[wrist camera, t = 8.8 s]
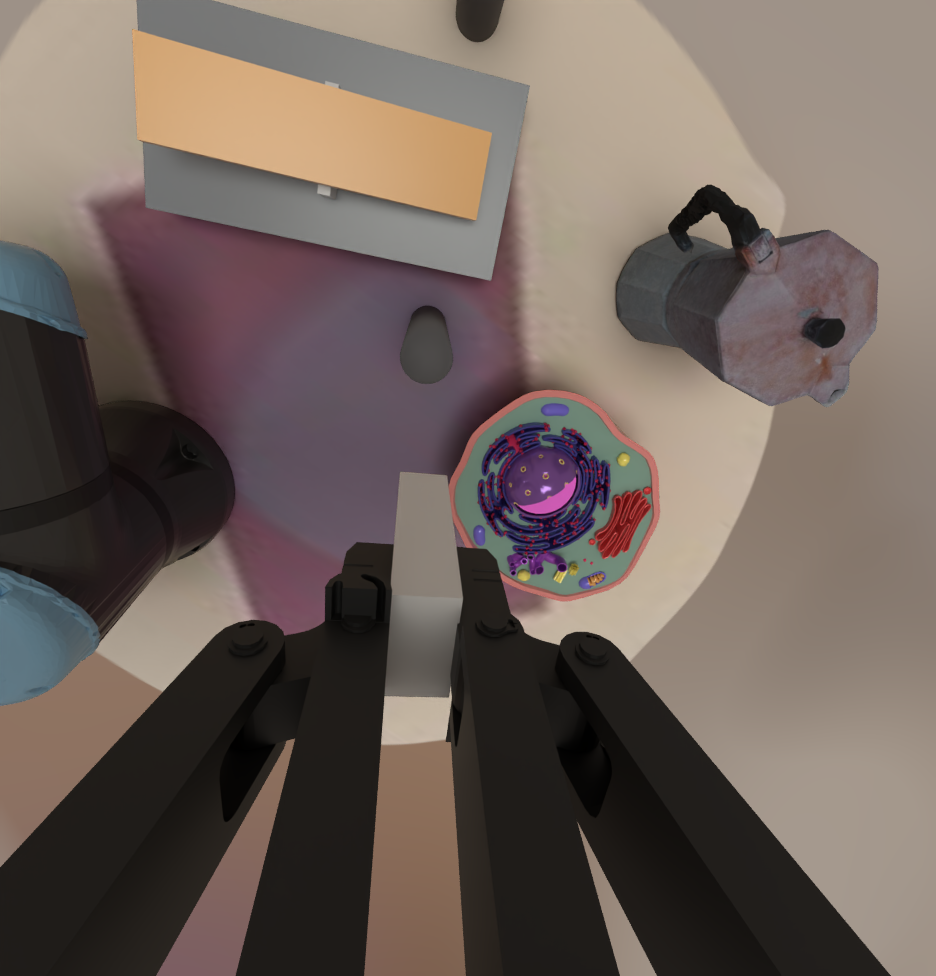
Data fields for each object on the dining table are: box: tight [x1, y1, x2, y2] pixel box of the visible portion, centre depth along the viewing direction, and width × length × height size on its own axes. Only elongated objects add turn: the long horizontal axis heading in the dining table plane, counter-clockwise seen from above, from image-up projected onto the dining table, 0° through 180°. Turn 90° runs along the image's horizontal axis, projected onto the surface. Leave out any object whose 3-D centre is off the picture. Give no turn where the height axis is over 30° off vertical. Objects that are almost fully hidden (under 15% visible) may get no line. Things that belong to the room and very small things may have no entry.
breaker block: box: [137, 0, 530, 281], centre depth 36 cm, size 24×12×7 cm, turn 79°
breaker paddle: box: [132, 29, 492, 221], centre depth 31 cm, size 20×5×1 cm, turn 79°
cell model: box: [449, 390, 660, 601], centre depth 45 cm, size 17×20×11 cm
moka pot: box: [617, 185, 878, 407], centre depth 35 cm, size 10×15×20 cm, turn 46°
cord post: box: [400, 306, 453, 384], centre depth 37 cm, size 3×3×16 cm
